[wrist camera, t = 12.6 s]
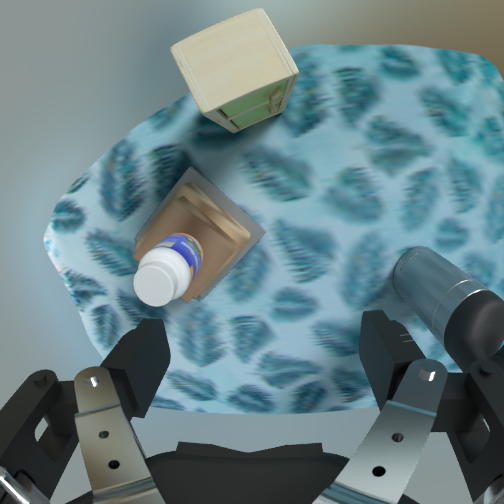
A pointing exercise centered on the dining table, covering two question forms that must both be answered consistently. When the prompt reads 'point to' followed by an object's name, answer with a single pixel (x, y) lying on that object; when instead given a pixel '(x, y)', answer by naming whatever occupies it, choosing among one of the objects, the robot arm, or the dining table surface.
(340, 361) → the dining table surface
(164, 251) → the pill bottle
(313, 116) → the dining table surface
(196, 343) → the dining table surface
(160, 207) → the base plate
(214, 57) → the tall beige block
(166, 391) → the dining table surface
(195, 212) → the brown block
